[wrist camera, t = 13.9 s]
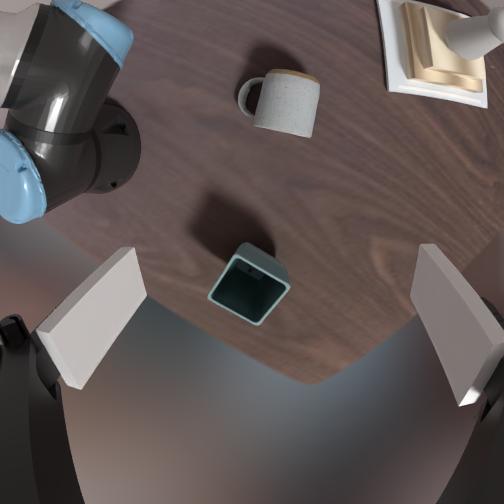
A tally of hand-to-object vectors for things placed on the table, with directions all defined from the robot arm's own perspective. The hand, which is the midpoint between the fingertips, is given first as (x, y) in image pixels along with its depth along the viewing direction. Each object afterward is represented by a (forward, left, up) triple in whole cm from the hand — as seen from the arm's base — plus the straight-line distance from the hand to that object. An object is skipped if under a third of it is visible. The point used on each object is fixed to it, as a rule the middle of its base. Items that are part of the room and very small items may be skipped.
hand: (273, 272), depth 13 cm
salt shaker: (+16, +26, -25) cm, 39 cm away
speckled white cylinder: (-4, +8, -32) cm, 33 cm away
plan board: (+16, +26, -32) cm, 44 cm away
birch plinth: (+16, +26, -32) cm, 44 cm away
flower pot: (0, -17, -32) cm, 36 cm away
